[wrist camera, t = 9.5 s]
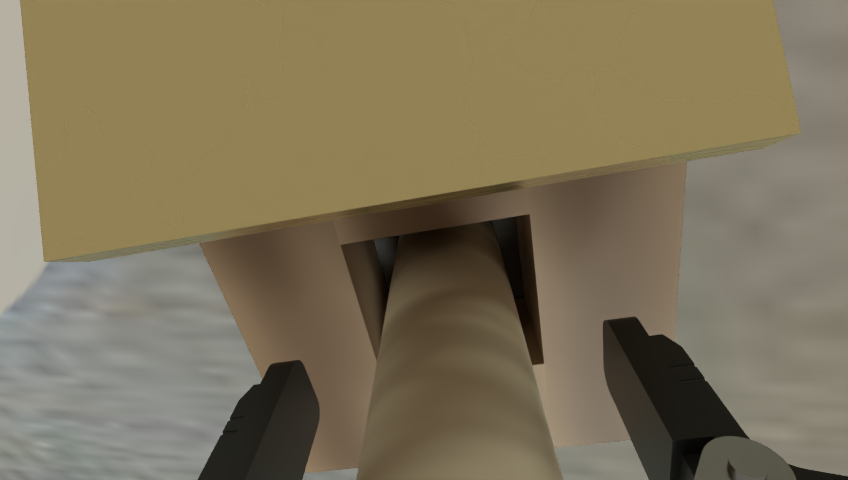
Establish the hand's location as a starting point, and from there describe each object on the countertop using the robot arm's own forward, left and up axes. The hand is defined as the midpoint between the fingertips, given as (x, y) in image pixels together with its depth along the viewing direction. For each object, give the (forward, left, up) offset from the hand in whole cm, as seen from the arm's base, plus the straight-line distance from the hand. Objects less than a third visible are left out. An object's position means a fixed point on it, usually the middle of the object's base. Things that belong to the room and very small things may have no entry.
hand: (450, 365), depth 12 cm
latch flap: (0, -10, 0) cm, 10 cm away
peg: (0, 0, -7) cm, 7 cm away
